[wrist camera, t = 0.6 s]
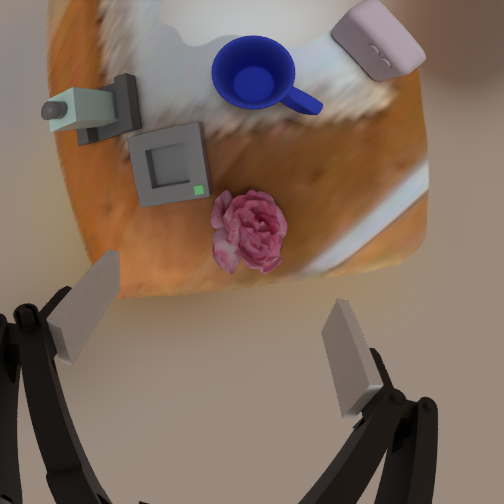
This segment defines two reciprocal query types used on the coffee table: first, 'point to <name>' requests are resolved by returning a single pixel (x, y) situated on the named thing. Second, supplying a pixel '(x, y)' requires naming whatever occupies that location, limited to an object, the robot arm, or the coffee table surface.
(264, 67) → the mug
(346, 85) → the coffee table surface
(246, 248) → the flower
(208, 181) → the port
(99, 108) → the plug
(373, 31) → the electronic device
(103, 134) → the holster
